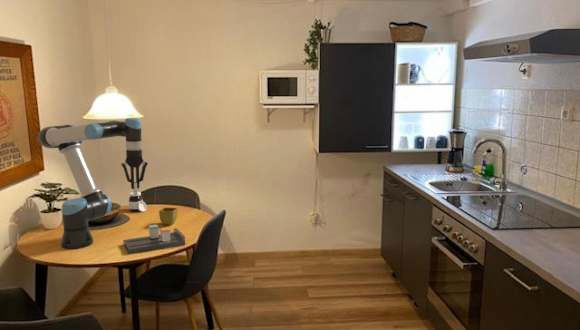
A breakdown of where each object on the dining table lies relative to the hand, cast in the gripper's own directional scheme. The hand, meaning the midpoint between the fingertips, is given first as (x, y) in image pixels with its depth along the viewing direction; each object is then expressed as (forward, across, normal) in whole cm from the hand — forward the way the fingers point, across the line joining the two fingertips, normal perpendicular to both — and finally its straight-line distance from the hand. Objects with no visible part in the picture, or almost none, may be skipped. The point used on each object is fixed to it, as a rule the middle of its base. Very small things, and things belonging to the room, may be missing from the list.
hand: (135, 194), depth 237 cm
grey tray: (+26, +8, -5) cm, 28 cm away
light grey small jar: (+23, +9, -1) cm, 25 cm away
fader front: (+23, +13, -9) cm, 28 cm away
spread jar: (+28, +12, +68) cm, 74 cm away
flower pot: (+27, +23, +28) cm, 45 cm away
